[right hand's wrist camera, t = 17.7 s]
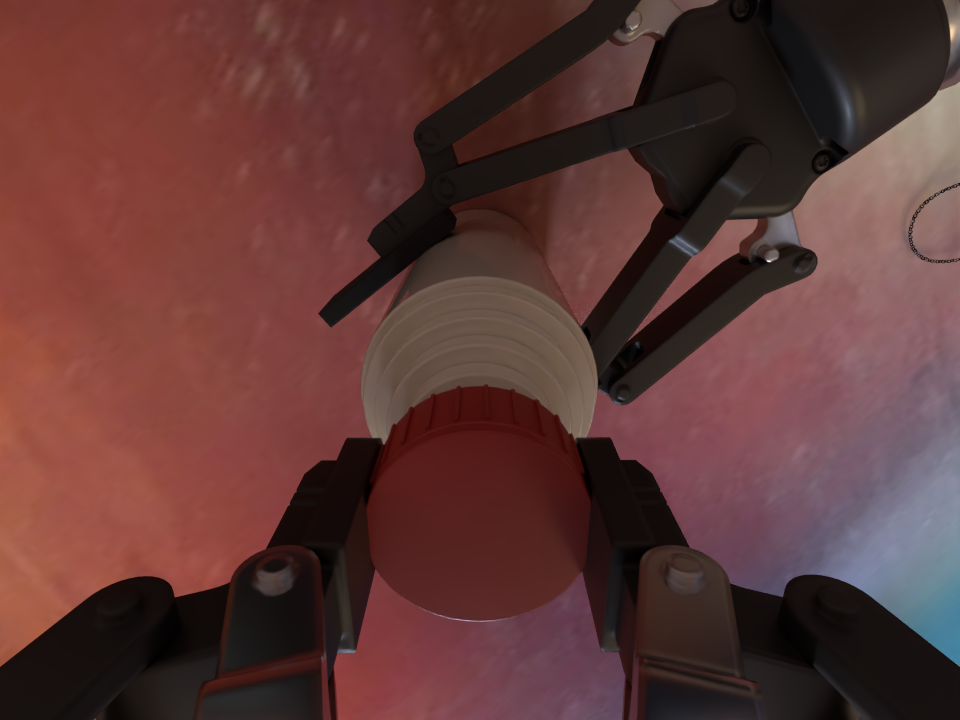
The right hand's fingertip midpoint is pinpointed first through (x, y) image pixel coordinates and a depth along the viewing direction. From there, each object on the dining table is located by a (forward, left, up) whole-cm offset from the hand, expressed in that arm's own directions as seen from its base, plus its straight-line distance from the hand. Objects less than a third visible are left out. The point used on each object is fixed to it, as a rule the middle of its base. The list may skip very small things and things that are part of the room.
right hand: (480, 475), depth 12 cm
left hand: (-3, -4, -13) cm, 14 cm away
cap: (0, 0, +2) cm, 2 cm away
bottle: (0, 0, -19) cm, 19 cm away
